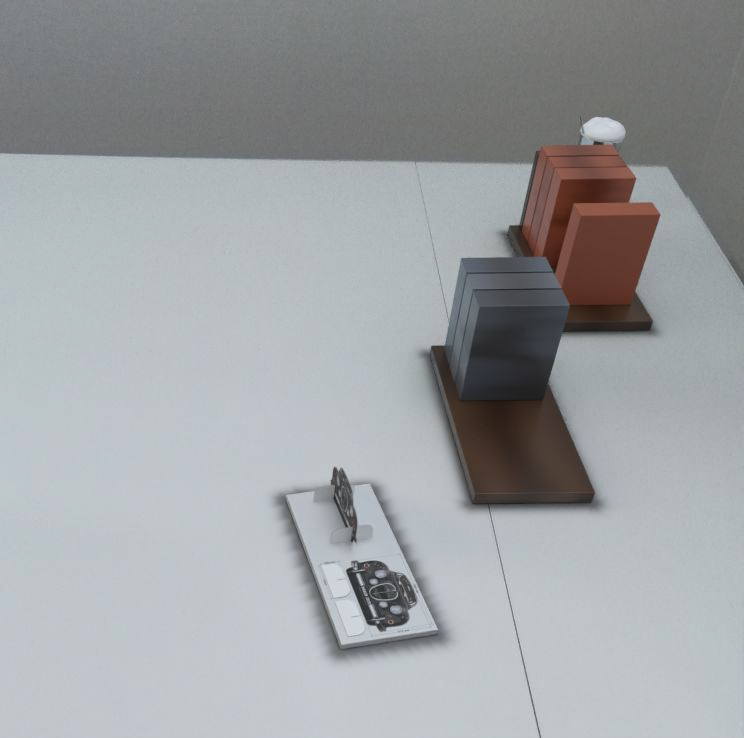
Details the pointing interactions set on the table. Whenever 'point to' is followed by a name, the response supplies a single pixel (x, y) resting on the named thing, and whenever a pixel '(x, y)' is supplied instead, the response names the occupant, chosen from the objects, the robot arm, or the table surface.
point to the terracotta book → (605, 251)
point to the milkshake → (602, 132)
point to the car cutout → (359, 565)
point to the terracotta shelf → (552, 214)
